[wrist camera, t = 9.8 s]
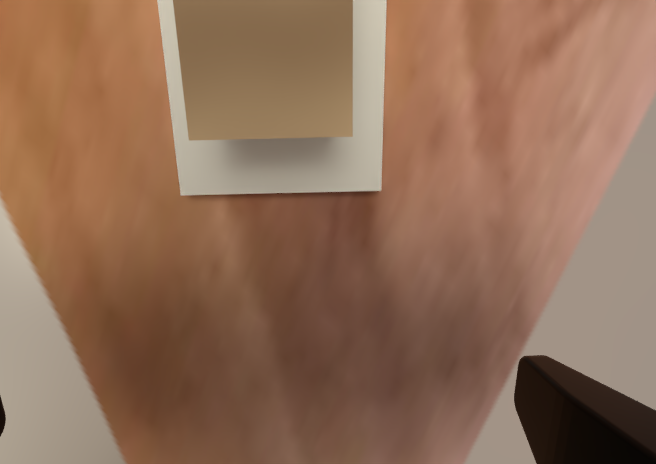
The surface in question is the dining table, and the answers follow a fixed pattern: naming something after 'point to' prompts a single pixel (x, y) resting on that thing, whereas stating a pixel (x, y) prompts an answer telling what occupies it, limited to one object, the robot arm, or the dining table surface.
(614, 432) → the robot arm
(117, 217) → the dining table surface
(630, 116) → the dining table surface
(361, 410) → the dining table surface
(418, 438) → the dining table surface
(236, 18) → the block
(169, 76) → the board
